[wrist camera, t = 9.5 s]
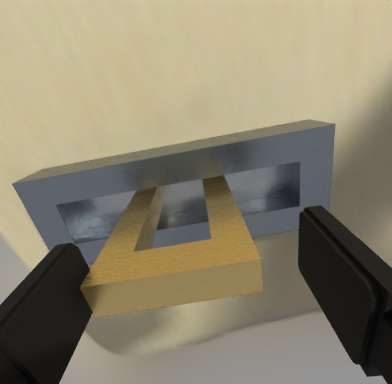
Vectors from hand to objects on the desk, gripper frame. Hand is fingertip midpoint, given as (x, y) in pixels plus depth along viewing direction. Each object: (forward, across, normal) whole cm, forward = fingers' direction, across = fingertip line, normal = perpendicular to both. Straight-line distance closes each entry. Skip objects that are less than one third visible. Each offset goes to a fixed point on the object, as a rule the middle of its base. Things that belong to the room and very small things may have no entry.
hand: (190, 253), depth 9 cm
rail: (+8, +1, +1) cm, 9 cm away
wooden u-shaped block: (+8, +1, 0) cm, 8 cm away
